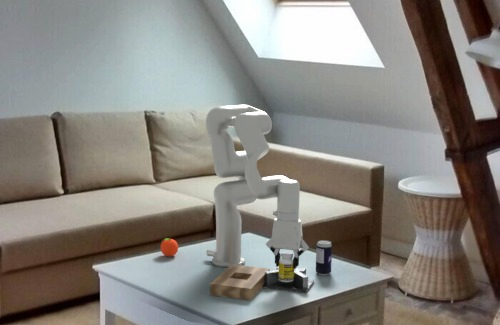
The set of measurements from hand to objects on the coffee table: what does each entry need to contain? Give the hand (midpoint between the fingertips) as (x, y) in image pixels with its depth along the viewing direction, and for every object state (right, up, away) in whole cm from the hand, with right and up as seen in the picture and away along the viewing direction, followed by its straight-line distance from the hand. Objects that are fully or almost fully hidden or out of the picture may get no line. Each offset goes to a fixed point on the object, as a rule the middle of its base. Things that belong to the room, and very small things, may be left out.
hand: (286, 266), depth 257 cm
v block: (+1, -7, +4) cm, 8 cm away
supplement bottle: (0, -5, +1) cm, 5 cm away
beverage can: (+14, -5, +17) cm, 22 cm away
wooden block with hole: (-16, -7, +1) cm, 18 cm away
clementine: (-45, -1, +35) cm, 57 cm away
